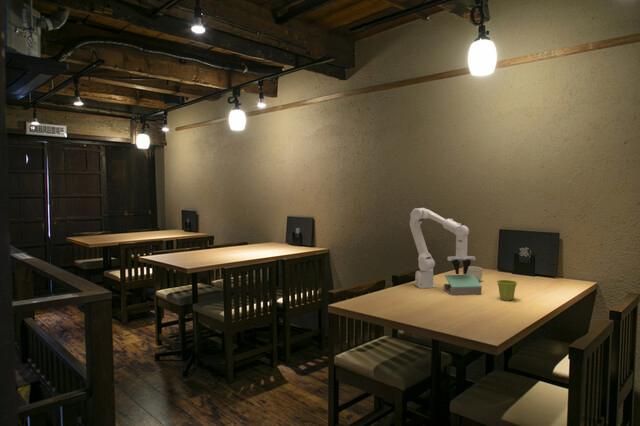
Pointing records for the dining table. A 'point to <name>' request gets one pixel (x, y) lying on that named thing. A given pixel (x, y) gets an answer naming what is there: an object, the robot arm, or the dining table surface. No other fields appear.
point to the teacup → (474, 272)
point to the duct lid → (463, 281)
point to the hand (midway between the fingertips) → (461, 273)
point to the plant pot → (506, 289)
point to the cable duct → (461, 290)
